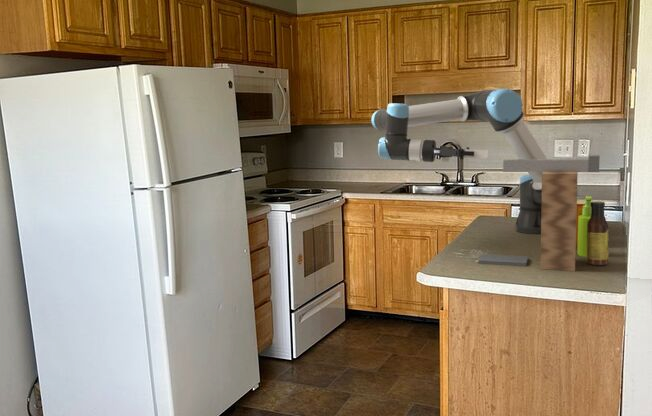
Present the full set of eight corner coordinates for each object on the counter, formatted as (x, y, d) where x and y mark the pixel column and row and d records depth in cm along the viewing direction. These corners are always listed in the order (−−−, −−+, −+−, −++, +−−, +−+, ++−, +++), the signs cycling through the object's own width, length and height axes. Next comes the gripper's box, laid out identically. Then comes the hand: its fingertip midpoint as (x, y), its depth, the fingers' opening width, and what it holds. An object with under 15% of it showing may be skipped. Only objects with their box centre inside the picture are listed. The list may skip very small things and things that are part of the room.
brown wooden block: (540, 269, 189) (542, 173, 185) (542, 258, 202) (544, 168, 197) (575, 271, 186) (577, 173, 181) (575, 260, 198) (577, 168, 194)
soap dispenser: (577, 257, 202) (578, 197, 199) (577, 252, 208) (578, 194, 205) (596, 258, 200) (598, 198, 197) (595, 253, 206) (597, 195, 203)
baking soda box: (572, 241, 224) (573, 198, 222) (591, 242, 222) (592, 199, 220) (573, 247, 216) (574, 203, 213) (593, 248, 213) (594, 203, 211)
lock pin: (503, 171, 193) (503, 156, 193) (504, 170, 198) (504, 155, 197) (599, 172, 183) (599, 156, 182) (598, 170, 187) (599, 154, 186)
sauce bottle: (612, 265, 190) (614, 202, 187) (594, 267, 189) (596, 204, 186) (599, 260, 197) (601, 200, 194) (582, 262, 196) (583, 201, 193)
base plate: (478, 263, 199) (478, 260, 199) (482, 256, 207) (482, 254, 207) (526, 266, 193) (526, 263, 193) (528, 259, 202) (528, 256, 201)
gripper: (428, 160, 221) (488, 164, 214) (415, 162, 197) (482, 166, 190) (430, 140, 220) (490, 143, 213) (417, 139, 196) (484, 142, 190)
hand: (486, 154), depth 202 cm, fingers open, 13 cm apart
